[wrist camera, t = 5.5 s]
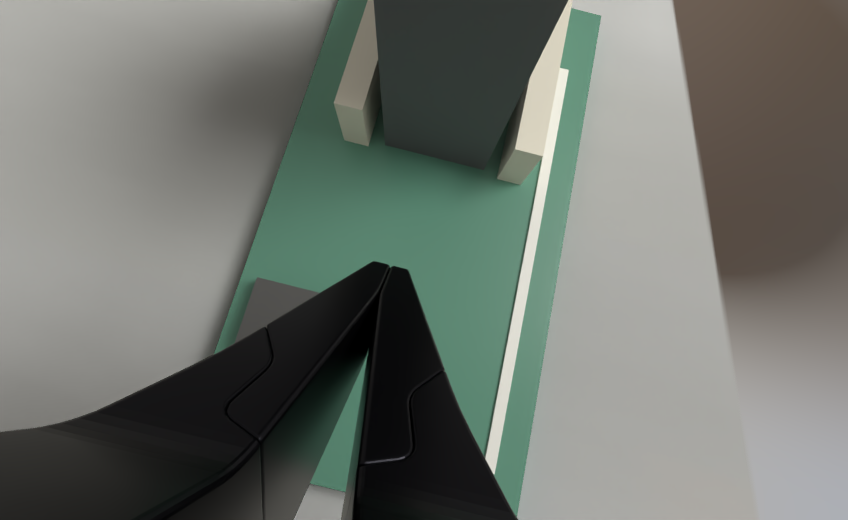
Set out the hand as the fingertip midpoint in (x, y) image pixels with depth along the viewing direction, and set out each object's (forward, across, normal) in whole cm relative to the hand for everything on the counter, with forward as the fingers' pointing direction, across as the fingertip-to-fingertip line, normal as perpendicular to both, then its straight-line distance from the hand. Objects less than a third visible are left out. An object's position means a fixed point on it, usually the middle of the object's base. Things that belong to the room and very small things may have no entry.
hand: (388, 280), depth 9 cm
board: (+10, 0, +3) cm, 11 cm away
